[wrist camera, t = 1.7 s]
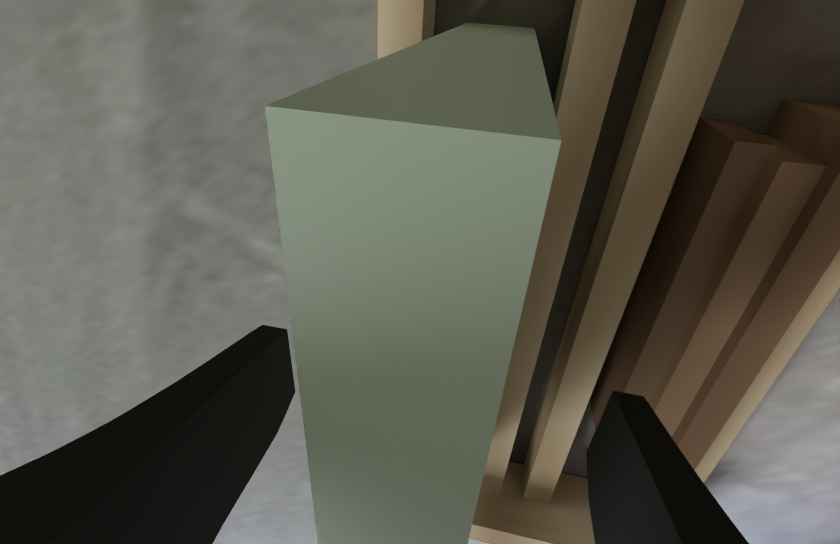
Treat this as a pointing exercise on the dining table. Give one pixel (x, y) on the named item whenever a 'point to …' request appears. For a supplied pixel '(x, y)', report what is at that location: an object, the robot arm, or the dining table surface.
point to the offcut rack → (599, 248)
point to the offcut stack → (727, 269)
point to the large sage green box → (410, 271)
